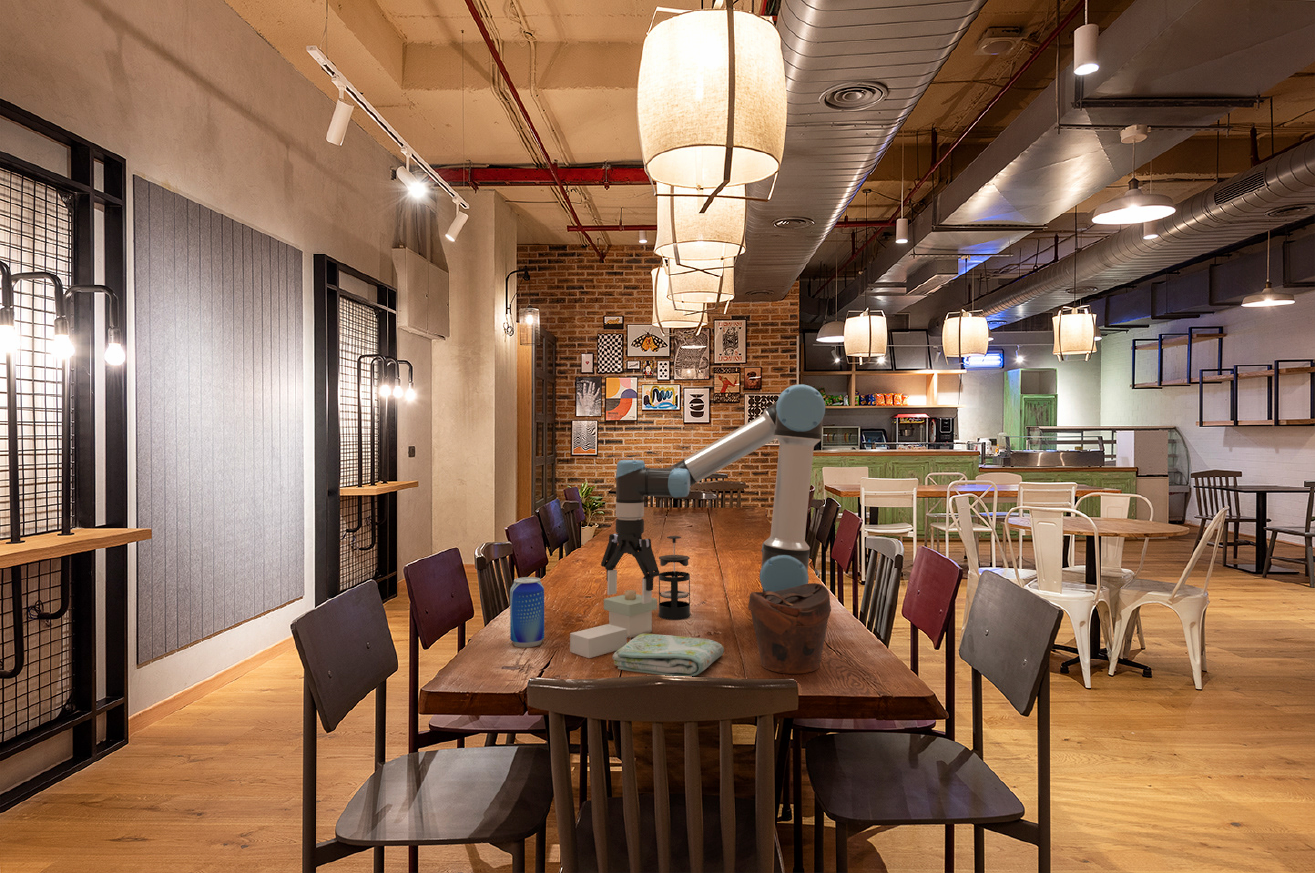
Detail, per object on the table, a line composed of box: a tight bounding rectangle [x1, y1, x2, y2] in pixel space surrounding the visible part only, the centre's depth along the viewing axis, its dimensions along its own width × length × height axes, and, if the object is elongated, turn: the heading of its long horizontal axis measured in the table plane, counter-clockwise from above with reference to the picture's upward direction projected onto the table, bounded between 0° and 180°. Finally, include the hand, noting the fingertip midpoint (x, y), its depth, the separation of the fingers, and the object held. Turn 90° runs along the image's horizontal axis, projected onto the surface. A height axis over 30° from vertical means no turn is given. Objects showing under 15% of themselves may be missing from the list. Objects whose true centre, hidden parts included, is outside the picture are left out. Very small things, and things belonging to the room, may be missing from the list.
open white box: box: [608, 610, 653, 639], centre depth 188 cm, size 8×8×6 cm
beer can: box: [509, 576, 545, 648], centre depth 178 cm, size 8×8×16 cm
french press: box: [657, 535, 692, 621], centre depth 206 cm, size 12×9×23 cm
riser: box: [569, 623, 628, 659], centre depth 173 cm, size 7×12×4 cm, turn 135°
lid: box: [603, 589, 658, 616], centre depth 188 cm, size 10×10×5 cm
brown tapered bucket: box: [747, 582, 832, 675], centre depth 160 cm, size 18×20×18 cm
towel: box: [611, 633, 725, 677], centre depth 163 cm, size 18×21×5 cm
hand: (628, 598), depth 188 cm, fingers open, 13 cm apart
